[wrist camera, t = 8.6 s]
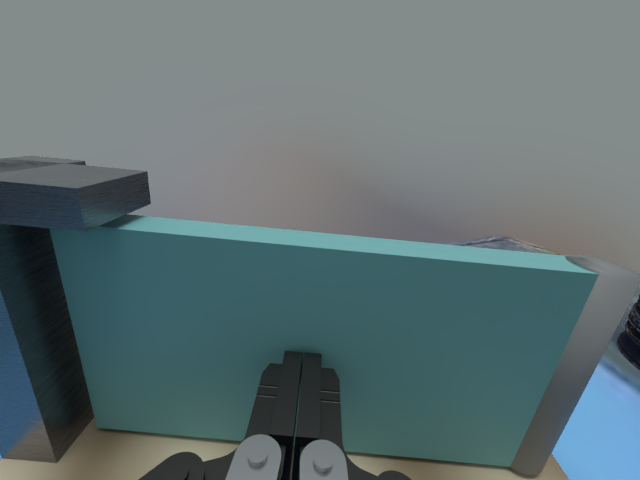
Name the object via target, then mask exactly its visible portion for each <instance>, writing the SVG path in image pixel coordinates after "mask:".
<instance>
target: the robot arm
mask: <svg viewBox="0 0 640 480" xmlns="http://www.w3.org/2000/svg"><path fill="white" fill-rule="evenodd" d="M302 353H303V352H296V351H285V352H284V358H283V363H282V364H276V363H270V364H269V365H268V366H267V367H266V369H265V370H264V371H263V372H262V375H261V379H260V383H259V387H258V390H257V395H256V398H255V402H254V405H253V409H252V413H251V417H250V421H249V424H248V428H247V432H246V435H245V437H244V439H243V441H242V442H241V444H240V445H239V446H238V447H237V448H236V449H235V450H234V451H232V452H231V453H229V454H227V455H225V456H223V457H220V458H216V459H212V460H208V461H204V462H203V461H202V459H201V458H200V457H199V456H198V455H197V454H195V453H192V452H180V453H176V454H174V455H172V456H170V457H168V458H167V459H165V460H164V461H162V462H161V463H160V464H158V465H157V466H156V467H154V468H153V469H152V470H150V471H149V472H148V473H146V474H145V475H144V476H142V477H141V478H140V479H138V480H290V472H291V462H292V453H293V444H294V434H295V425H296V416H297V406H298V397H299V387H300V376H301V365H302ZM321 363H322V354H319V353H308V352H304V358H303V368H302V377H301V387H300V397H299V406H298V416H297V426H296V435H295V447H294V458H293V469H292V480H411V479H410V478H409V477H408V476H406V475H405V474H403V473H401V472H398V471H394V470H388V471H384V472H382V473H381V474H379V475H378V476H376V475H374V474H372V473H369V472H367V471H365V470H363V469H361V468H359V467H358V466H356V465H355V464H354V463H353V462H352V461H351V460H350V459H349V458H348V456H347V454H346V452H345V450H344V447H343V442H342V422H341V404H340V381H339V378H338V376H337V374H336V372H335V370H334V369H333V368H322V367H321Z"/></svg>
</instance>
